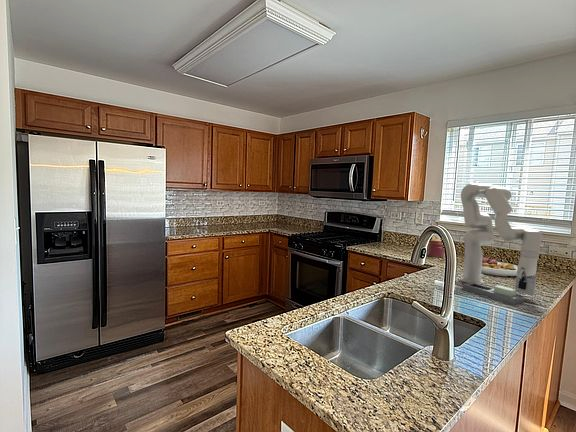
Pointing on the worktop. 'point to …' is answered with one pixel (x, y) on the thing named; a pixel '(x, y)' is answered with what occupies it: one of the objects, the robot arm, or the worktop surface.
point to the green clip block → (505, 291)
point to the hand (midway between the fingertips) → (524, 287)
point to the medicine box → (527, 285)
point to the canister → (435, 248)
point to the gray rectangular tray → (492, 293)
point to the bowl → (498, 268)
